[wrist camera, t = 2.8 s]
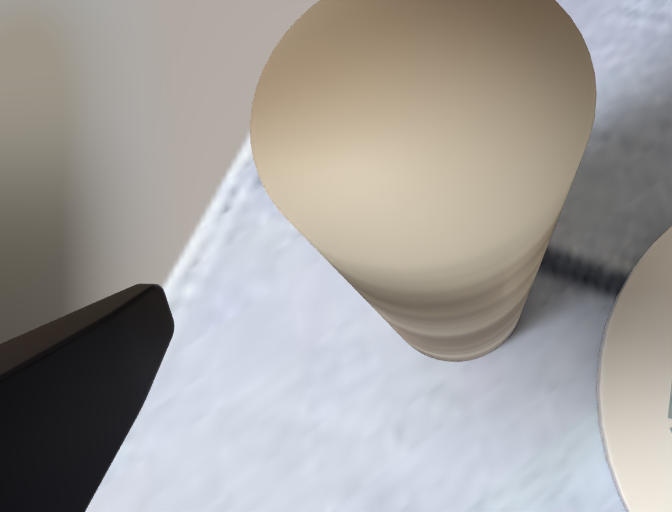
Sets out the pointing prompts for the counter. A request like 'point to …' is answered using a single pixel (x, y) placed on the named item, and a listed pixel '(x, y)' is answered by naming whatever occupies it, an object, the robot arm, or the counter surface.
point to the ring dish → (639, 383)
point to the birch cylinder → (428, 153)
